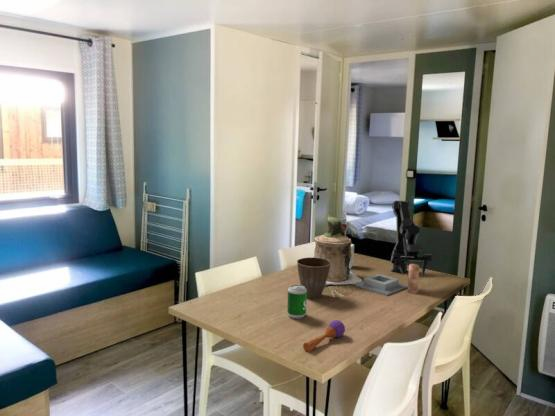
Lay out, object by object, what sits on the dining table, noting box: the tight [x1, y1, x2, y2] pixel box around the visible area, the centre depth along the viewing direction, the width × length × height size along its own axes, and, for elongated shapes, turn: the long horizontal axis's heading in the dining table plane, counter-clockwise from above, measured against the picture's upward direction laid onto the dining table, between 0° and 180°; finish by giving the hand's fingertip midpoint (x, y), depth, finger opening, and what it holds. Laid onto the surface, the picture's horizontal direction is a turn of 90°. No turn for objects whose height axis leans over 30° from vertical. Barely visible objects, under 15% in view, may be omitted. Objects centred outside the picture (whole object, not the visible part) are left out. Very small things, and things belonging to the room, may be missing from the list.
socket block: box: [354, 273, 408, 296], centre depth 219 cm, size 18×18×4 cm
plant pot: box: [296, 257, 331, 300], centre depth 203 cm, size 15×15×16 cm
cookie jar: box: [313, 215, 363, 286], centre depth 230 cm, size 25×25×32 cm
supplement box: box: [349, 243, 355, 270], centre depth 252 cm, size 7×7×13 cm
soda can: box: [286, 284, 308, 320], centre depth 181 cm, size 8×8×12 cm
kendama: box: [302, 319, 346, 353], centre depth 158 cm, size 6×6×20 cm
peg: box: [407, 263, 420, 295], centre depth 212 cm, size 4×4×13 cm
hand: (413, 274), depth 212 cm, fingers open, 9 cm apart
